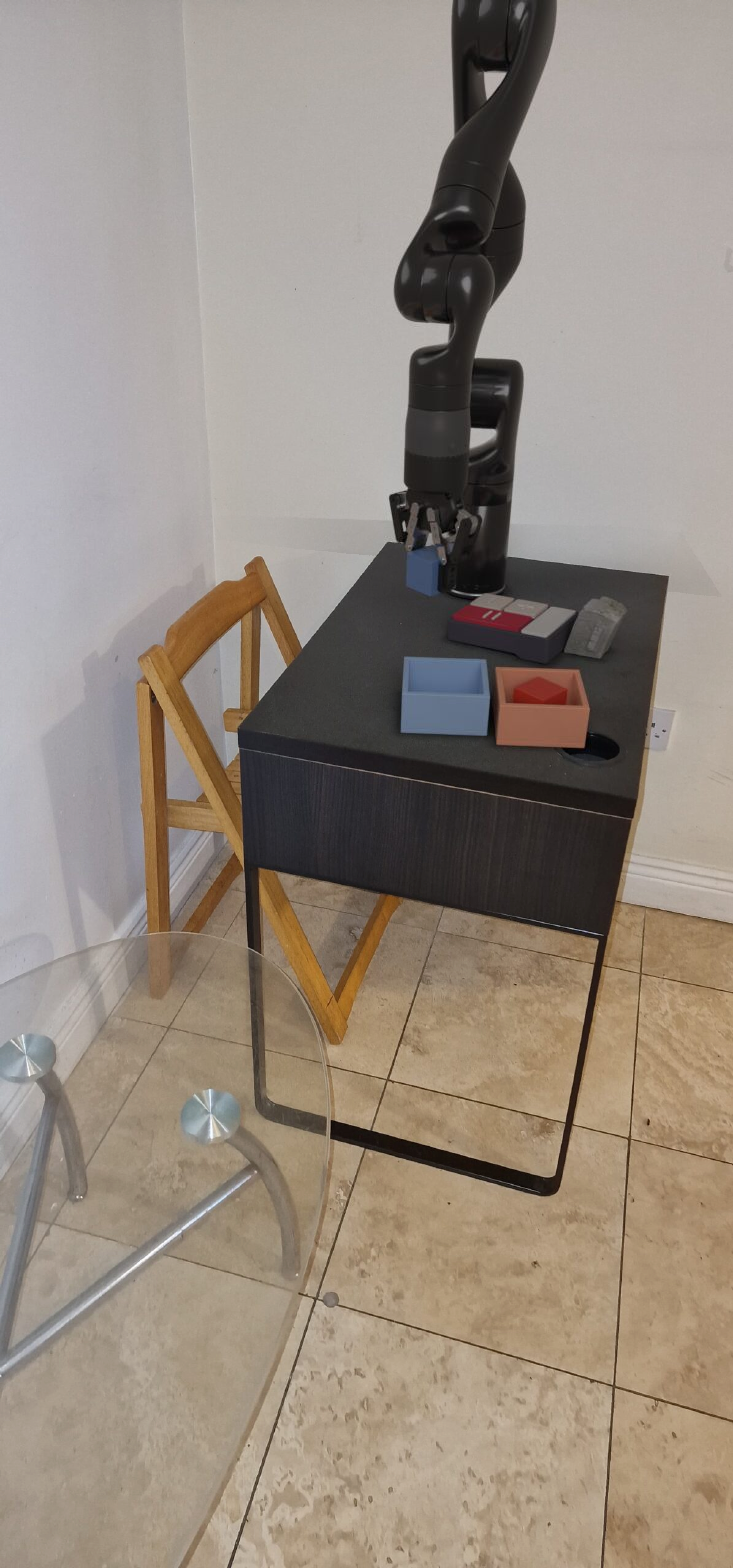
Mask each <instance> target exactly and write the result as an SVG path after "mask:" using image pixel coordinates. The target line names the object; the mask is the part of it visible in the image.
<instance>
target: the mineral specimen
mask: <svg viewBox="0 0 733 1568" xmlns="http://www.w3.org/2000/svg"><path fill="white" fill-rule="evenodd" d="M627 612H628V610H627V608H626V607H625V605H623V603H621V602H619V601H617V600H615V599H613V598H610V597H608V596H600V598H599V599H598V598H591V599H590V600H589V601H587V603H586V604H585V605H584V606H583V607H582V609H581V610H580V612H578V613H579V615H578V618H577V619H576V621H575V623H574V626H573V628H572V631H571V633H570V636H569V639H568V641H567V644H566V647H565V648H564V649H563V652H564V653H565V654H571V655H572V654H573V655H577V656H582V657H583V656H584V657H589V658H592V659H599V660H600V659H601V658H602V657H603V656H604V655H605V653H606V652H608V651H609V649H610V646H611V645H612V643H613V640H614V638H615V636H616V635H617V632H618V630H619V627H620V625H621V623H622V621H623V620H624V618H625V617H626V616H627Z"/></svg>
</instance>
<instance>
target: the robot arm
mask: <svg viewBox="0 0 733 1568" xmlns="http://www.w3.org/2000/svg"><path fill="white" fill-rule="evenodd" d="M557 10H558V0H452V5H451V17H450V25H451V26H450V48H451V49H450V50H451V52H450V53H451V56H450V57H451V78H452V79H451V81H452V82H451V85H452V115H453V116H452V117H453V118H452V119H453V138H452V139H451V141H450V142H449V145H448V146H447V148H446V149H445V151H444V153H443V156H442V159H441V161H440V165H439V169H438V173H437V176H436V181H435V184H434V189H433V192H432V197H431V201H430V205H429V208H428V210H427V212H426V214H425V216H424V217H423V220H422V221H421V224H420V226H419V227H418V229H417V231H416V233H415V235H414V236H413V237H412V239H411V241H410V243H409V244H408V246H407V248H406V249H405V251H404V253H403V255H402V257H401V259H400V261H399V263H398V265H397V268H396V273H395V276H394V281H393V300H394V303H395V306H396V309H397V311H398V313H399V314H400V315H401V316H402V317H403V318H404V319H406V320H407V321H410V322H414V323H423V324H439V325H448V333H447V342H444V343H439V344H433V345H426V346H421V347H418V348H417V349H415V350H414V351H413V352H412V353H411V355H410V357H409V365H408V389H407V391H408V392H407V393H408V394H407V395H408V396H407V410H406V416H405V423H404V426H405V427H404V455H403V484H404V485H405V487H406V488H407V489H406V490H401V491H397V492H394V493H391V494H389V496H388V501H389V507H390V513H391V519H392V525H393V531H394V536H395V541H396V543H398V544H403V545H404V548H405V550H406V551H407V553H408V552H411V551H414V550H417V549H421V548H424V547H427V541H428V538H429V535H430V534H431V538H432V545H435V546H437V550H438V556H439V561H440V563H439V565H438V586H437V590H438V591H439V592H441V593H440V594H445V593H448V594H449V595H451V596H454V597H456V598H457V597H458V598H461V599H467V600H475V599H477V598H478V597H480V596H481V595H483V594H484V593H488V594H493V595H499V596H502V595H503V594H504V593H505V591H506V574H507V565H508V564H507V563H508V562H507V561H508V551H509V540H510V527H511V516H512V504H513V503H512V502H513V490H514V479H515V469H516V467H515V465H516V452H517V441H518V433H519V427H520V426H519V425H520V419H521V411H522V405H523V399H524V398H523V396H524V388H525V387H524V386H525V372H524V369H523V368H524V367H523V365H522V363H521V362H520V361H519V360H517V359H511V358H495V357H476V352H477V348H478V344H479V341H480V337H481V333H482V331H483V327H484V324H485V322H486V318H487V316H488V314H489V312H490V310H491V309H492V307H493V306H494V305H495V303H496V302H497V300H498V299H499V298H500V296H501V295H502V293H503V292H504V291H505V290H506V288H507V286H508V285H509V284H510V282H511V281H512V279H513V277H514V276H515V274H516V272H517V271H518V267H519V266H520V265H521V261H522V258H523V253H524V241H525V229H526V228H525V227H526V214H527V201H526V196H525V192H524V189H523V186H522V183H521V181H520V177H519V176H518V174H517V172H516V170H515V167H514V165H513V163H512V161H511V160H510V158H511V155H512V153H513V150H514V148H515V145H516V142H517V140H518V137H519V135H520V132H521V129H522V128H523V125H524V122H525V120H526V118H527V115H528V113H529V110H530V108H531V106H532V102H533V100H534V97H535V94H536V92H537V89H538V87H539V84H540V81H541V80H542V76H543V74H544V72H545V68H546V65H547V63H548V61H549V56H550V53H551V49H552V46H553V41H554V37H555V31H556V25H557ZM485 73H487V74H488V73H490V74H505V75H504V77H503V78H502V80H501V82H500V83H499V84H498V86H497V87H496V89H495V90H494V91H493V92H492V94H491V95H490V96H489V97H487V96H488V95H487V90H486V81H485ZM472 429H481V430H493V431H495V434H494V435H493V436H492V437H491V438H490V439H488V440H487V441H485V442H483V443H481V444H478V445H476V446H472V447H471V434H472V433H471V431H472ZM403 523H404V524H403ZM403 525H404V526H403ZM404 527H405V530H404ZM444 534H446V535H444ZM443 535H444V536H443ZM447 550H448V551H450V552H449V553H448V551H447ZM456 572H457V573H456ZM455 584H456V588H454V589H453V587H455Z"/></svg>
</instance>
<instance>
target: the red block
mask: <svg viewBox="0 0 733 1568" xmlns="http://www.w3.org/2000/svg"><path fill="white" fill-rule="evenodd" d="M567 691H568V689H566V688H564V687H561V686H559V685H557V684H555V683H552V682H550V681H548V680H545V679H543V678H541V677H536V678H534V679H532V680H530V681H527V682H525V683H523V684H521V685H518V686H516V687H514V694H513V703H517V704H545V705H566V699H567Z"/></svg>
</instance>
